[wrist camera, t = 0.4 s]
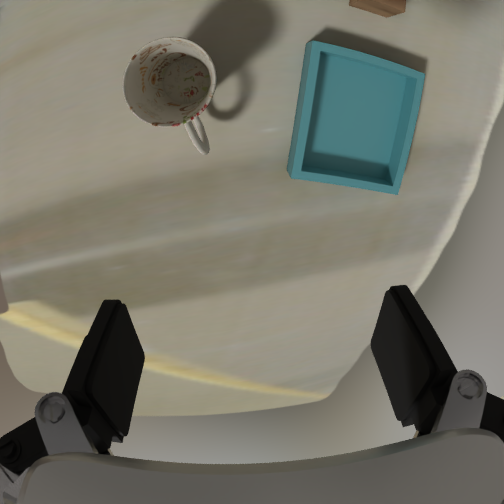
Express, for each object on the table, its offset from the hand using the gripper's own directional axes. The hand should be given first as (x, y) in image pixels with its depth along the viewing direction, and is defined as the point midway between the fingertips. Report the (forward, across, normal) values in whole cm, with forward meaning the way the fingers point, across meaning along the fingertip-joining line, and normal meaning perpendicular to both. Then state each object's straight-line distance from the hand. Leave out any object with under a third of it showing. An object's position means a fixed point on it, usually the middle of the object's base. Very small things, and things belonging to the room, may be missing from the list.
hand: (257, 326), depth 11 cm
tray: (+29, -13, -3) cm, 32 cm away
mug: (+30, +6, -6) cm, 31 cm away
